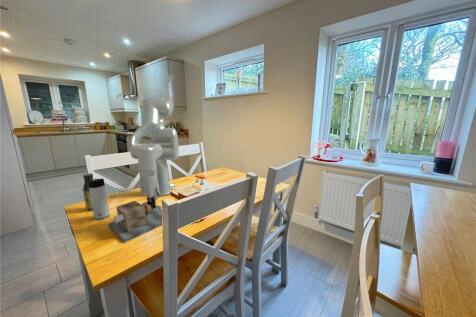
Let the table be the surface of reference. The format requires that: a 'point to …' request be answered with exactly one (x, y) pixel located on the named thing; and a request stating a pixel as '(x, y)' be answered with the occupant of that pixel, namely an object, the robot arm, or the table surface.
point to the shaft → (147, 205)
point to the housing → (136, 221)
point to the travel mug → (98, 199)
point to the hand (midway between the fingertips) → (152, 208)
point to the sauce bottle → (87, 191)
